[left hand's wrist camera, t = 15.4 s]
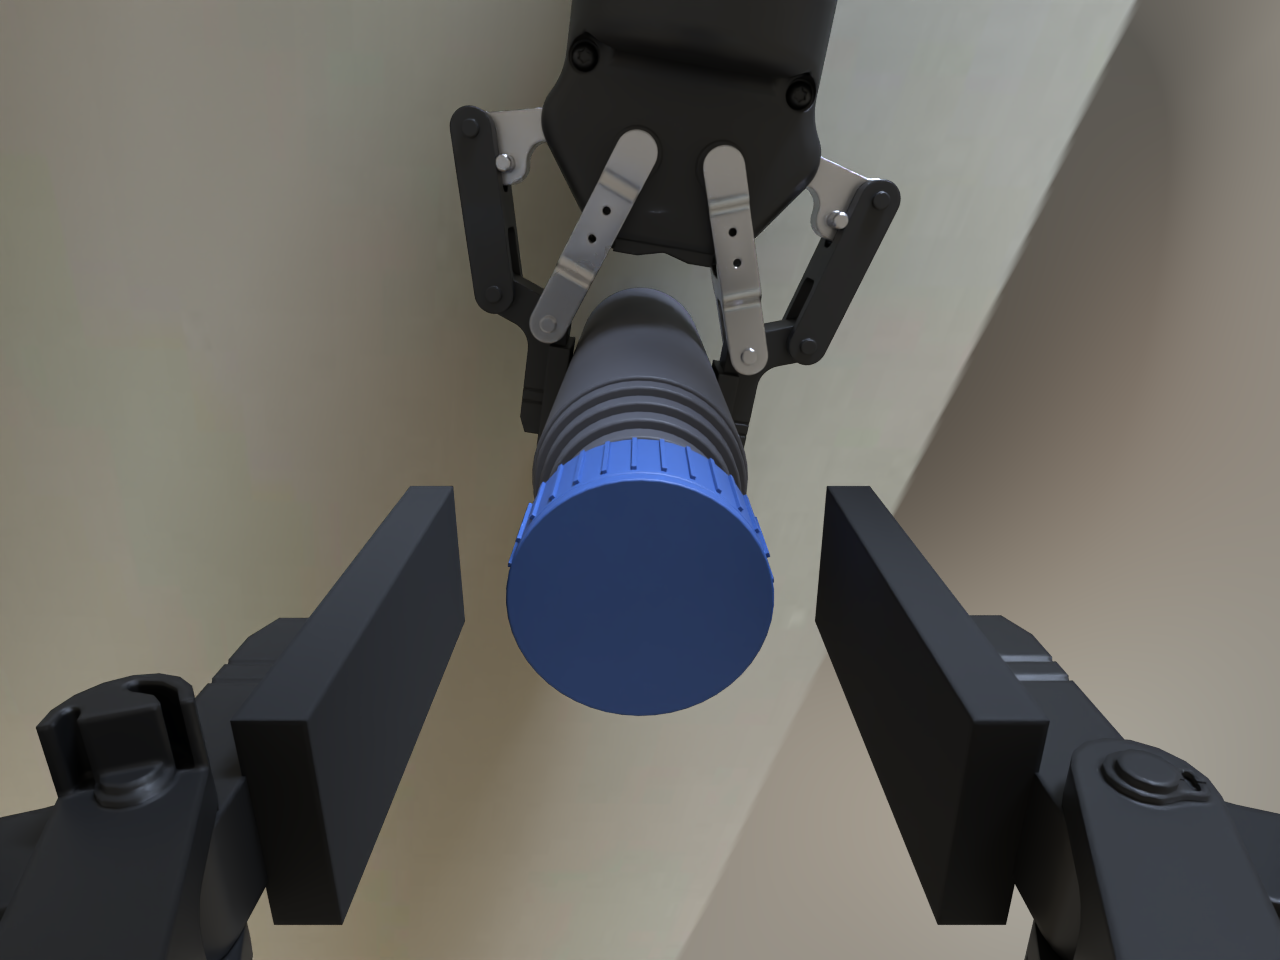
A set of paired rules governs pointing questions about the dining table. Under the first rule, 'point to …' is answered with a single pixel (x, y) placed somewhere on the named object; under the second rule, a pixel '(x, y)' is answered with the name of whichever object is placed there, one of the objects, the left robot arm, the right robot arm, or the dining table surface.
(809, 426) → the dining table surface
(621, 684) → the cap
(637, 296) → the bottle
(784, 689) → the dining table surface
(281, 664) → the left robot arm
